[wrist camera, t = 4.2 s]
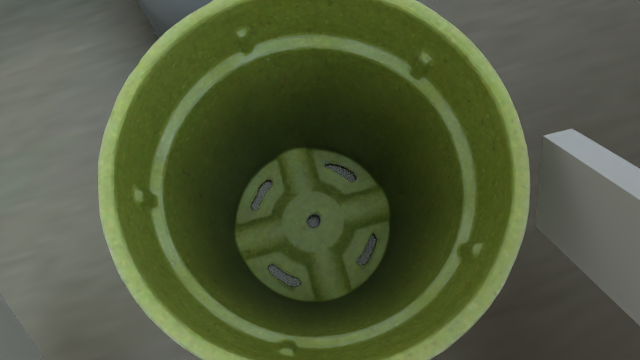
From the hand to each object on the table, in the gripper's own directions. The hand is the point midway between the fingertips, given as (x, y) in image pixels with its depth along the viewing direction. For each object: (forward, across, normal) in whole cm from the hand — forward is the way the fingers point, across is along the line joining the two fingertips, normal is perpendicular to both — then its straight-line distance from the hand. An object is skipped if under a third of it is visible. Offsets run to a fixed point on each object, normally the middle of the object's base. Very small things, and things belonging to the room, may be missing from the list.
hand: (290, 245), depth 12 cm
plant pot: (+6, +1, -4) cm, 7 cm away
